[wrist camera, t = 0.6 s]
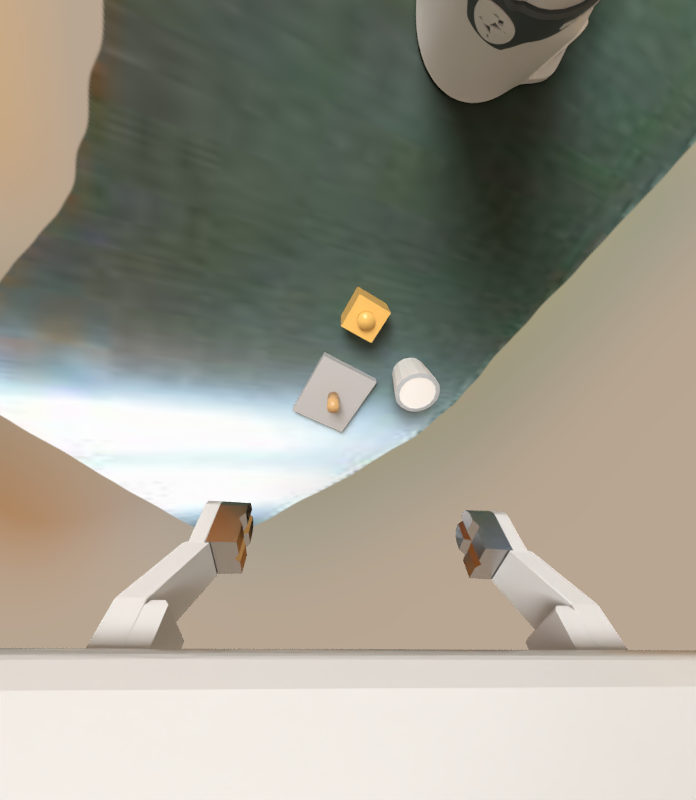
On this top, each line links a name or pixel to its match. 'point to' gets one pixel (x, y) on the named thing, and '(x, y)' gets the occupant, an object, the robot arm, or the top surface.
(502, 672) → the robot arm
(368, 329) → the cube with dome knob
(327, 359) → the flat gray block
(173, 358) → the top surface
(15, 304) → the top surface
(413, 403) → the white cylinder
